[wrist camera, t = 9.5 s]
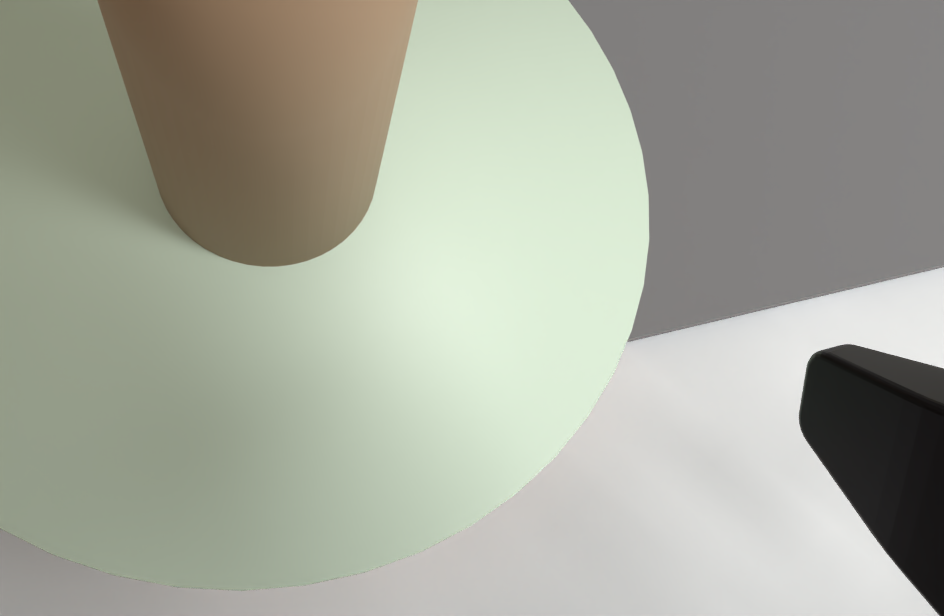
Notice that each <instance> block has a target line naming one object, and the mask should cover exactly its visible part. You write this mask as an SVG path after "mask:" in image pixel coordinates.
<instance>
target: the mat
mask: <svg viewBox="0 0 944 616" xmlns="http://www.w3.org/2000/svg"><path fill="white" fill-rule="evenodd" d="M568 1H569V2H570V3H571V5H572V6H573V7H574V9H575V10H576V11H577V13H578V14H579V15H580V17H581V18H582V19H583V21H584V22H585V23H586V25H587V26H588V27H589V29H590V30H591V32H592V33H593V35H594V37H595V39H596V40H597V42H598V44H599V46H600V47H601V49H602V51H603V52H604V54H605V56H606V58H607V59H608V61H609V63H610V65H611V66H612V68H613V70H614V72H615V75H616V77H617V80H618V82H619V84H620V87H621V89H622V91H623V94H624V96H625V98H626V101H627V103H628V106H629V108H630V111H631V114H632V118H633V121H634V125H635V128H636V132H637V135H638V139H639V142H640V146H641V149H642V154H643V161H644V168H645V174H646V181H647V188H648V195H649V246H648V254H647V263H646V271H645V279H644V286H643V290H642V294H641V297H640V301H639V305H638V309H637V313H636V316H635V320H634V324H633V328H632V331H631V333H630V336H629V338H628V340H627V342H629V341H634V340H638V339H642V338H646V337H651V336H655V335H659V334H663V333H667V332H672V331H676V330H680V329H684V328H689V327H693V326H697V325H701V324H705V323H710V322H714V321H718V320H722V319H726V318H731V317H735V316H739V315H743V314H748V313H752V312H756V311H760V310H764V309H769V308H773V307H777V306H781V305H786V304H790V303H794V302H798V301H802V300H807V299H811V298H815V297H819V296H823V295H828V294H832V293H836V292H840V291H845V290H849V289H853V288H857V287H861V286H866V285H870V284H874V283H878V282H883V281H887V280H891V279H895V278H899V277H904V276H908V275H912V274H916V273H920V272H925V271H929V270H933V269H937V268H942V267H944V0H568Z"/></svg>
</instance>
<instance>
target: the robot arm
mask: <svg viewBox="0 0 944 616" xmlns="http://www.w3.org/2000/svg"><path fill="white" fill-rule="evenodd" d="M799 424H800V427H801V431H802V433H803V435H804V437H805V439H806V441H807V442H808V444H809V445H810V446H811V448H812V449H813V451H814V452H815V453H816V455H817V456H818V458H819V459H820V461H821V462H822V463H823V465H824V466H825V468H826V469H827V470H828V472H829V473H830V475H831V476H832V478H833V479H834V480H835V482H836V483H837V485H838V486H839V487H840V489H841V490H842V492H843V493H844V495H845V496H846V497H847V499H848V500H849V502H850V503H851V504H852V506H853V507H854V509H855V510H856V512H857V513H858V514H859V516H860V517H861V519H862V520H863V521H864V523H865V524H866V526H867V527H868V529H869V530H870V531H871V533H872V534H873V536H874V537H875V538H876V540H877V541H878V542H879V544H880V545H881V546H882V548H883V549H884V550H885V552H886V553H887V554H888V555H889V557H890V558H891V559H892V560H893V562H894V563H895V564H896V565H897V566H898V568H899V569H900V570H901V571H902V573H903V574H904V575H905V576H906V577H907V578H908V580H909V581H910V582H911V583H912V584H913V585H914V587H915V588H916V589H917V590H918V591H919V592H920V594H921V595H922V596H923V597H924V598H925V599H926V601H927V602H928V603H929V604H930V605H931V606H932V608H933V609H934V610H935V611H936V612H937V613H938V615H939V616H944V369H943V368H940V367H936V366H932V365H928V364H924V363H921V362H917V361H913V360H909V359H905V358H902V357H898V356H894V355H890V354H886V353H883V352H879V351H875V350H871V349H868V348H864V347H860V346H856V345H851V344H846V345H840V346H836V347H832V348H829V349H825V350H821V351H818V352H816V353H815V354H813V355H812V356H811V358H810V360H809V361H808V364H807V368H806V374H805V380H804V386H803V392H802V398H801V404H800V411H799Z"/></svg>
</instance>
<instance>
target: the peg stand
mask: <svg viewBox="0 0 944 616" xmlns="http://www.w3.org/2000/svg"><path fill="white" fill-rule="evenodd" d="M648 246H649V195H648V188H647V181H646V174H645V168H644V161H643V154H642V149H641V146H640V142H639V139H638V135H637V132H636V128H635V125H634V121H633V118H632V114H631V111H630V108H629V106H628V103H627V101H626V98H625V96H624V94H623V91H622V89H621V87H620V84H619V82H618V80H617V77H616V75H615V72H614V70H613V68H612V66H611V65H610V63H609V61H608V59H607V58H606V56H605V54H604V52H603V51H602V49H601V47H600V46H599V44H598V42H597V40H596V39H595V37H594V35H593V33H592V32H591V30H590V29H589V27H588V26H587V25H586V23H585V22H584V21H583V19H582V18H581V17H580V15H579V14H578V13H577V11H576V10H575V9H574V7H573V6H572V5H571V3H570V2H569V1H568V0H0V529H2V530H4V531H6V532H8V533H10V534H12V535H14V536H16V537H18V538H20V539H22V540H24V541H26V542H28V543H30V544H32V545H34V546H36V547H38V548H40V549H42V550H44V551H46V552H48V553H50V554H52V555H55V556H58V557H61V558H64V559H67V560H70V561H73V562H76V563H79V564H82V565H85V566H88V567H91V568H94V569H97V570H100V571H103V572H106V573H109V574H112V575H115V576H120V577H126V578H131V579H136V580H141V581H147V582H152V583H157V584H163V585H168V586H173V587H180V588H200V589H219V590H238V591H244V590H256V589H268V588H281V587H293V586H305V585H309V584H314V583H318V582H323V581H328V580H332V579H337V578H341V577H346V576H351V575H355V574H360V573H364V572H367V571H370V570H373V569H375V568H378V567H381V566H384V565H387V564H389V563H392V562H395V561H398V560H400V559H403V558H406V557H409V556H411V555H414V554H417V553H420V552H422V551H424V550H426V549H428V548H429V547H431V546H433V545H435V544H437V543H439V542H441V541H443V540H445V539H447V538H449V537H450V536H452V535H454V534H456V533H458V532H460V531H462V530H464V529H466V528H468V527H470V526H472V525H473V524H474V523H476V522H477V521H479V520H480V519H481V518H483V517H484V516H486V515H487V514H488V513H490V512H491V511H493V510H494V509H495V508H497V507H498V506H500V505H501V504H503V503H504V502H505V501H507V500H508V499H510V498H511V497H512V496H514V495H515V494H517V493H518V492H519V491H520V490H521V489H522V488H523V487H524V486H525V485H526V484H527V483H528V482H529V481H530V480H532V479H533V478H534V477H535V476H536V475H537V474H538V473H539V472H540V471H541V470H542V469H543V468H544V467H545V466H546V465H548V464H549V463H550V462H551V461H552V460H553V459H554V458H555V457H556V456H557V455H558V453H559V452H560V451H561V450H562V448H563V447H564V446H565V445H566V443H567V442H568V441H569V440H570V438H571V437H572V436H573V435H574V433H575V432H576V431H577V430H578V428H579V427H580V426H581V425H582V423H583V422H584V421H585V420H586V419H587V417H588V416H589V414H590V412H591V411H592V409H593V407H594V406H595V404H596V402H597V401H598V399H599V397H600V396H601V394H602V392H603V391H604V389H605V387H606V386H607V384H608V382H609V381H610V379H611V377H612V376H613V374H614V371H615V369H616V367H617V364H618V362H619V359H620V357H621V355H622V352H623V350H624V348H625V345H626V343H627V340H628V338H629V336H630V333H631V331H632V328H633V324H634V320H635V316H636V313H637V309H638V305H639V301H640V297H641V294H642V290H643V286H644V279H645V271H646V263H647V254H648Z"/></svg>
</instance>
